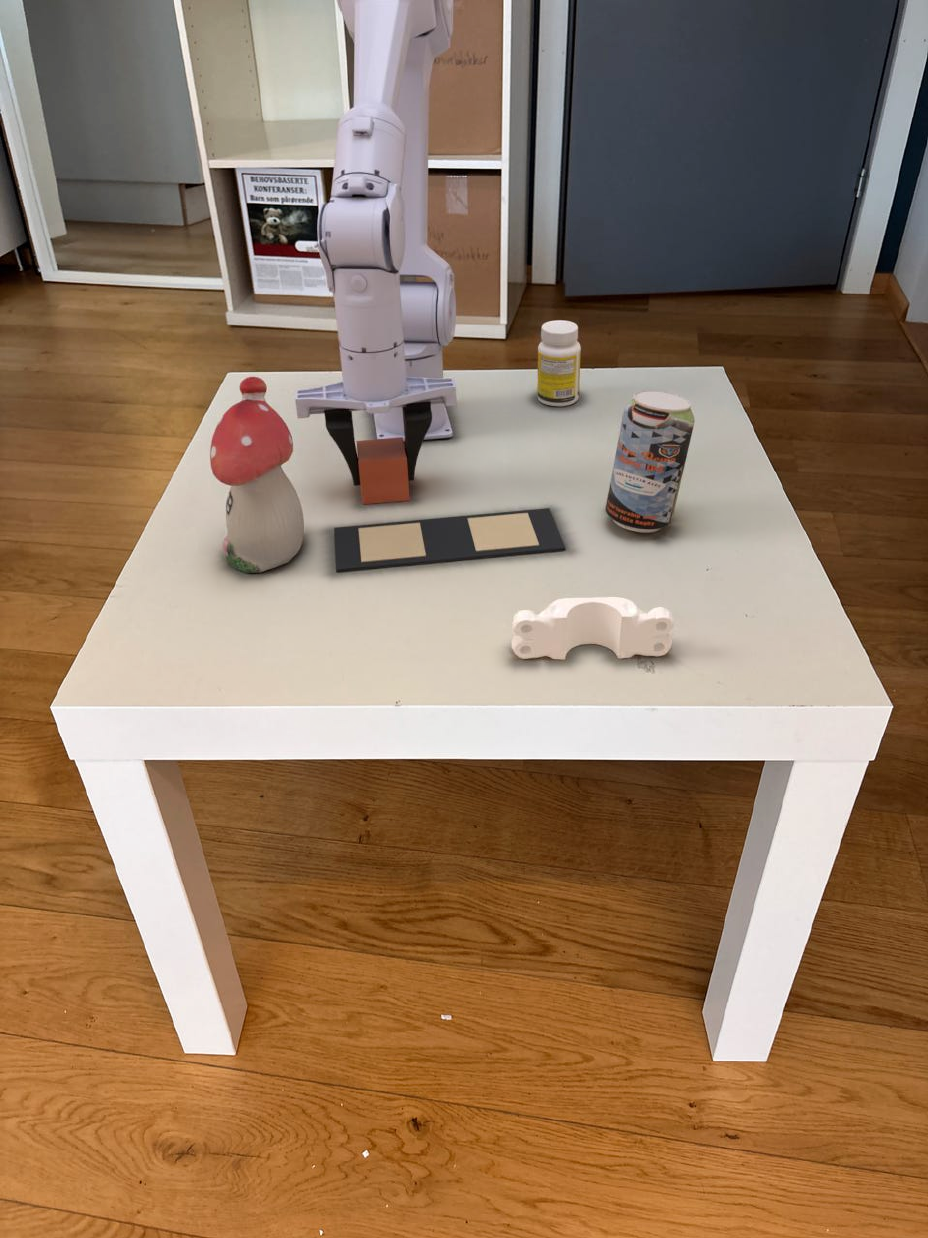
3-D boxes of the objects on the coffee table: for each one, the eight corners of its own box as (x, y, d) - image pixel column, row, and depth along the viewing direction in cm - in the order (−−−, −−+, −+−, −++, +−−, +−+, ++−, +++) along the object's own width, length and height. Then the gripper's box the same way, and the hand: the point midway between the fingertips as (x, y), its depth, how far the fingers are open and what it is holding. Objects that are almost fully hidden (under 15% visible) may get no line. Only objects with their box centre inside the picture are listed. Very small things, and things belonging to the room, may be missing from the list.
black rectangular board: (334, 530, 90) (334, 526, 89) (549, 510, 91) (549, 506, 91) (336, 572, 84) (336, 568, 84) (565, 550, 86) (565, 546, 85)
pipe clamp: (666, 637, 75) (671, 595, 73) (671, 657, 73) (677, 615, 71) (510, 640, 76) (510, 598, 73) (511, 660, 74) (511, 618, 71)
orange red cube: (360, 482, 97) (356, 440, 94) (405, 478, 97) (402, 436, 94) (362, 504, 93) (358, 462, 90) (409, 500, 94) (406, 457, 91)
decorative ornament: (267, 519, 91) (241, 365, 83) (327, 532, 89) (308, 376, 80) (207, 570, 85) (172, 409, 76) (271, 586, 82) (243, 422, 74)
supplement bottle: (551, 386, 114) (553, 315, 109) (586, 395, 112) (590, 323, 107) (529, 401, 111) (529, 328, 106) (564, 410, 109) (567, 337, 104)
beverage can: (591, 526, 89) (598, 402, 82) (638, 495, 93) (648, 375, 86) (649, 550, 85) (662, 423, 78) (695, 517, 90) (711, 394, 82)
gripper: (287, 364, 82) (307, 505, 90) (458, 351, 84) (463, 491, 92) (288, 334, 88) (307, 469, 96) (448, 323, 89) (453, 457, 97)
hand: (383, 478), depth 94 cm, fingers closed on orange red cube, 4 cm apart
